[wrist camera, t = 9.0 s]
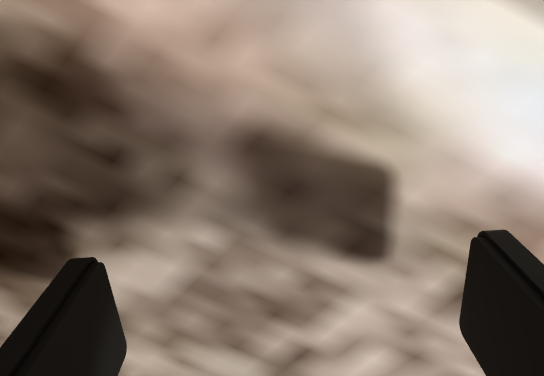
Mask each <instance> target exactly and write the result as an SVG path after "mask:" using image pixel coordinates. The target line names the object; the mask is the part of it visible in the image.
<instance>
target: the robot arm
mask: <svg viewBox="0 0 544 376" xmlns="http://www.w3.org/2000/svg"><path fill="white" fill-rule="evenodd" d="M459 324H460V330H461V333H462V335H463V337H464V339H465V341H466V342H467V344H468V346H469V348H470V349H471V351H472V353H473V354H474V356H475V358H476V359H477V361H478V363H479V364H480V366H481V368H482V369H483V371H484V373H485V375H486V376H544V264H542V263H541V262H540V261H539V260H538V259H537V258H536V257H535V256H534V255H533V254H532V253H531V252H530V251H529V250H528V249H527V248H525V247H524V246H523V245H522V244H521V243H520V242H519V241H518V240H517V239H516V238H515V237H514V236H513V235H512V234H511V233H509V232H508V231H507V230H492V231H481V232H480V233H479V234H478V236H477V237H474V238H473V239H472V240H471V244H470V251H469V258H468V265H467V272H466V279H465V286H464V292H463V299H462V306H461V313H460V321H459ZM126 349H127V345H126V339H125V336H124V332H123V329H122V325H121V322H120V318H119V315H118V311H117V307H116V304H115V300H114V297H113V293H112V290H111V286H110V283H109V279H108V275H107V272H106V268H105V266H104V264H103V263H102V262H98V261H97V260H96V258H94V257H89V258H74V259H70V260H68V261H67V263H66V264H65V265H64V266H63V268H62V269H61V270H60V272H59V273H58V274H57V275H56V277H55V278H54V279H53V281H52V282H51V283H50V284H49V286H48V287H47V288H46V290H45V291H44V292H43V293H42V295H41V296H40V297H39V299H38V300H37V301H36V302H35V304H34V305H33V306H32V308H31V309H30V310H29V311H28V313H27V314H26V315H25V317H24V318H23V319H22V320H21V322H20V323H19V324H18V326H17V327H16V328H15V329H14V331H13V332H12V333H11V335H10V336H9V337H8V338H7V340H6V341H5V342H4V344H3V345H2V346H1V347H0V376H118V373H119V371H120V368H121V366H122V364H123V361H124V359H125V356H126Z"/></svg>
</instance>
